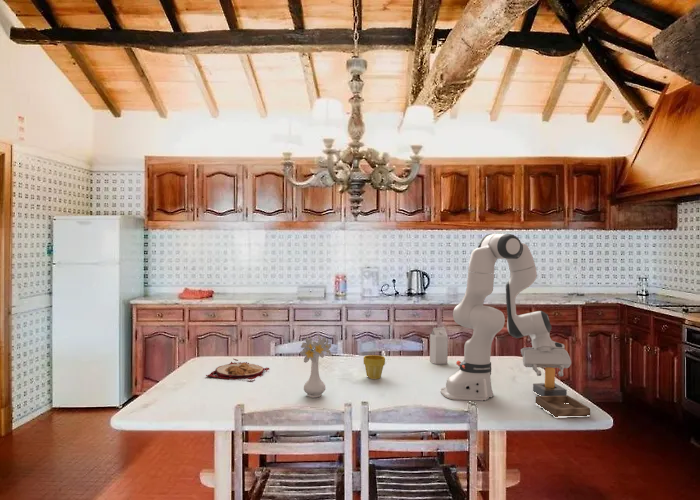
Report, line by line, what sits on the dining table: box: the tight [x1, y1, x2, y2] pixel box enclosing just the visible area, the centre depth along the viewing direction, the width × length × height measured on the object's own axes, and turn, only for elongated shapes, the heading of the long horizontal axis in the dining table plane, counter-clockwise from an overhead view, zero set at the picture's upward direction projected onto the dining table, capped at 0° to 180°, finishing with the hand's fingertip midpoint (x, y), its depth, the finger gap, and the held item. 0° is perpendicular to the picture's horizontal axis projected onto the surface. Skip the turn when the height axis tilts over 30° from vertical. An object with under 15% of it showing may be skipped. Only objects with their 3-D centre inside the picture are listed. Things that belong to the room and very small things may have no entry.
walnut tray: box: [534, 395, 591, 417], centre depth 206 cm, size 14×16×4 cm
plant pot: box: [363, 354, 386, 380], centre depth 251 cm, size 10×10×10 cm
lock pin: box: [544, 367, 556, 388], centre depth 225 cm, size 4×4×12 cm
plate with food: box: [205, 358, 271, 382], centre depth 256 cm, size 25×26×4 cm
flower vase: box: [299, 334, 332, 399], centre depth 220 cm, size 13×18×25 cm
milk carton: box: [429, 327, 449, 365], centre depth 281 cm, size 7×7×19 cm
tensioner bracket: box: [532, 382, 568, 396], centre depth 225 cm, size 10×10×4 cm
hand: (550, 375), depth 224 cm, fingers open, 8 cm apart
